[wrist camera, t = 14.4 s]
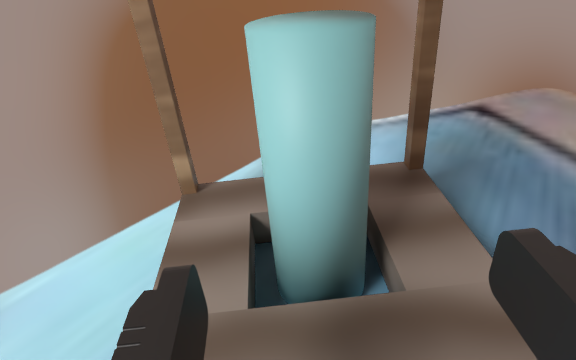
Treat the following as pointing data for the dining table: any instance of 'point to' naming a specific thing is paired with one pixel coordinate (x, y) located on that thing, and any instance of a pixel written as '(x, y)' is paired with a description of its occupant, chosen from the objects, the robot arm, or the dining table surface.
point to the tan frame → (381, 233)
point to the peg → (315, 146)
